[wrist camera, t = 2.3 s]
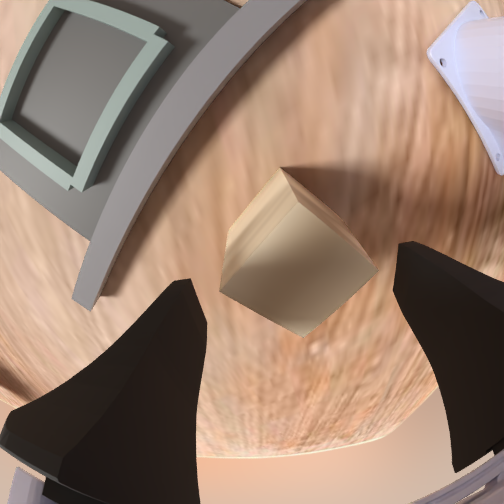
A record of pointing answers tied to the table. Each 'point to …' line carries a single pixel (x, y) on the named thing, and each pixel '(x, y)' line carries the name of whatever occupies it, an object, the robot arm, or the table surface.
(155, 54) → the keeper cradle
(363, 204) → the table surface
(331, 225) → the block
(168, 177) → the table surface
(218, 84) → the rail
